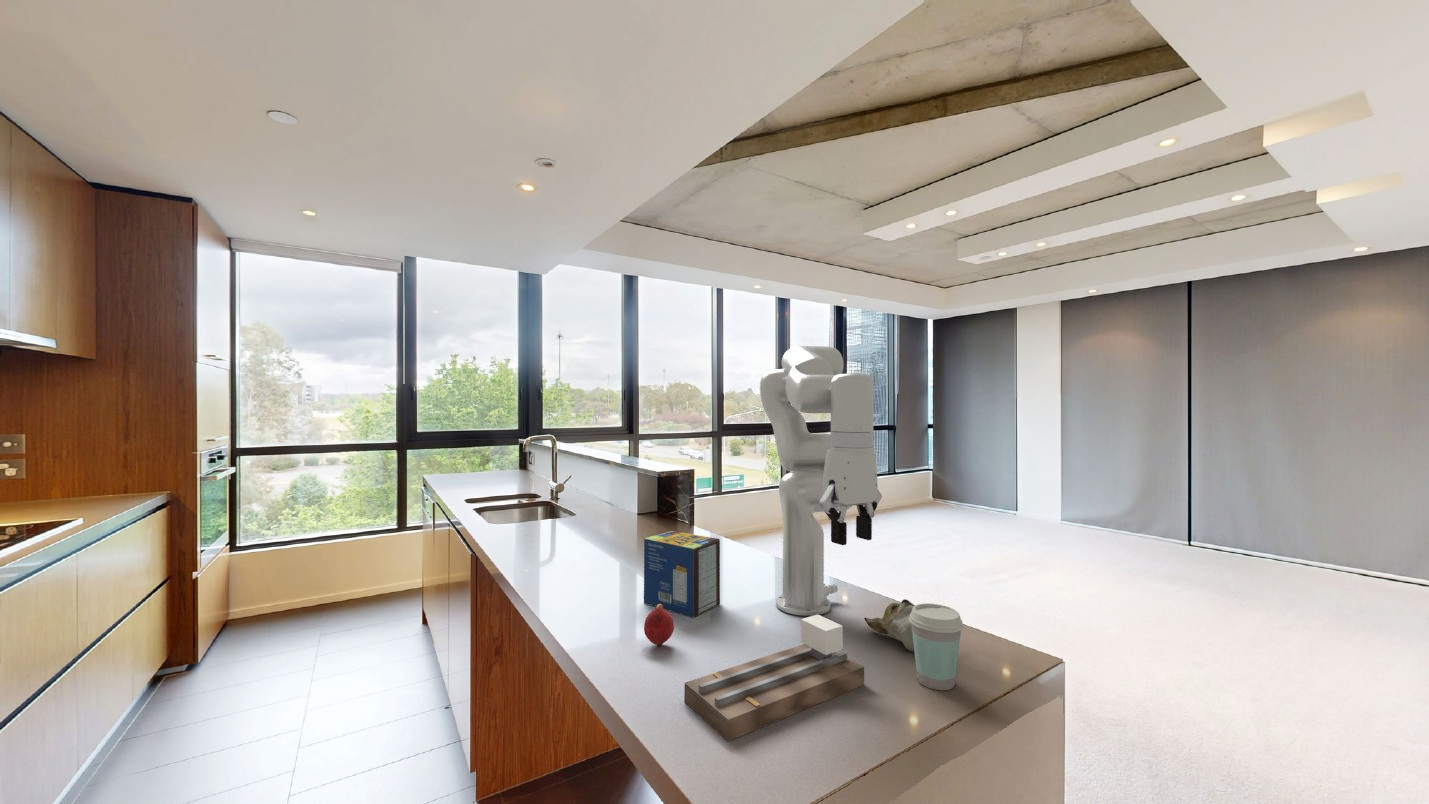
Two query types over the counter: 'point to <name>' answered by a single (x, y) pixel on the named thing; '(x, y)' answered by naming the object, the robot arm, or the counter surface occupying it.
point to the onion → (658, 626)
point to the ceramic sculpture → (895, 623)
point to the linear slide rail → (770, 689)
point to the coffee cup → (936, 644)
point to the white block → (821, 636)
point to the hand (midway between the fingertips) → (851, 540)
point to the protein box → (682, 572)
